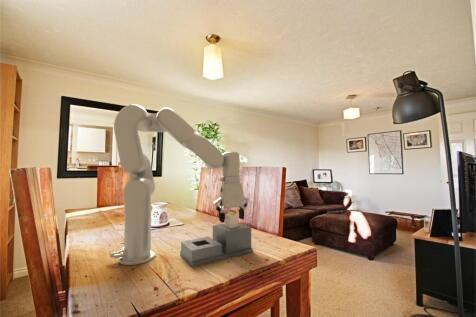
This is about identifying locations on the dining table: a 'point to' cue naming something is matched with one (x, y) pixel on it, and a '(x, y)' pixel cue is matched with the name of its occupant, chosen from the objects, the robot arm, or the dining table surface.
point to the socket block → (218, 245)
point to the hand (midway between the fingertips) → (232, 220)
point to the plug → (231, 220)
